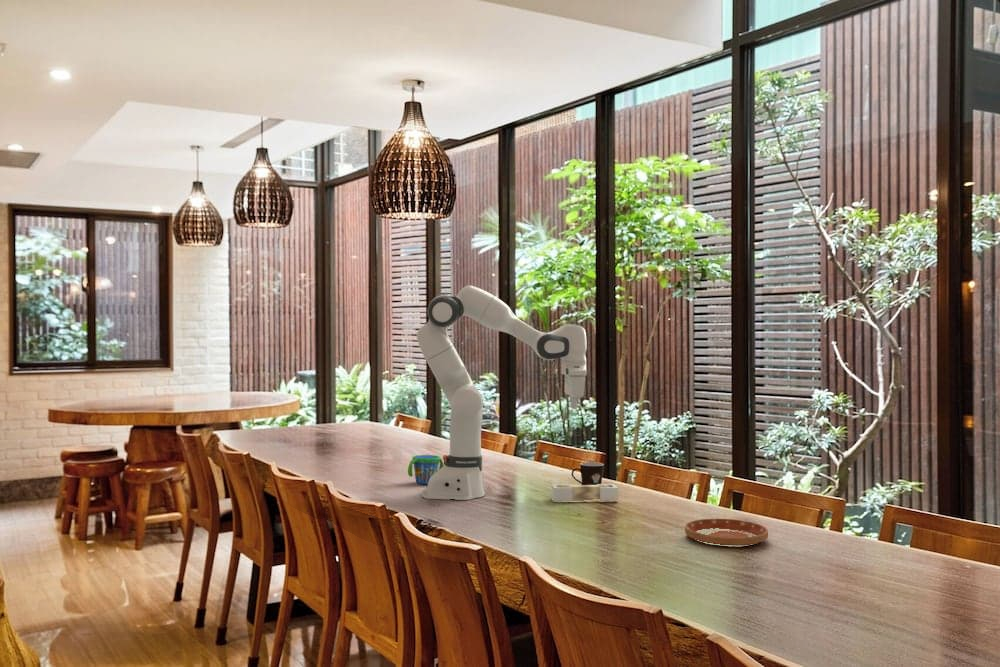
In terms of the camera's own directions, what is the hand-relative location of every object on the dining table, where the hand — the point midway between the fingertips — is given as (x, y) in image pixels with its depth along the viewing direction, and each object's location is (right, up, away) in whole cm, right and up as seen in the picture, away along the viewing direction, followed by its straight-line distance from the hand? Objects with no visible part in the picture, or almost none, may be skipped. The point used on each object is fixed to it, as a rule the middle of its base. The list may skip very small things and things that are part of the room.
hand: (573, 408), depth 301 cm
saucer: (+38, -32, -59) cm, 77 cm away
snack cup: (-54, -31, +22) cm, 66 cm away
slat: (+3, -31, -7) cm, 32 cm away
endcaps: (+3, -31, -7) cm, 32 cm away
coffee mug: (+6, -31, +10) cm, 33 cm away
